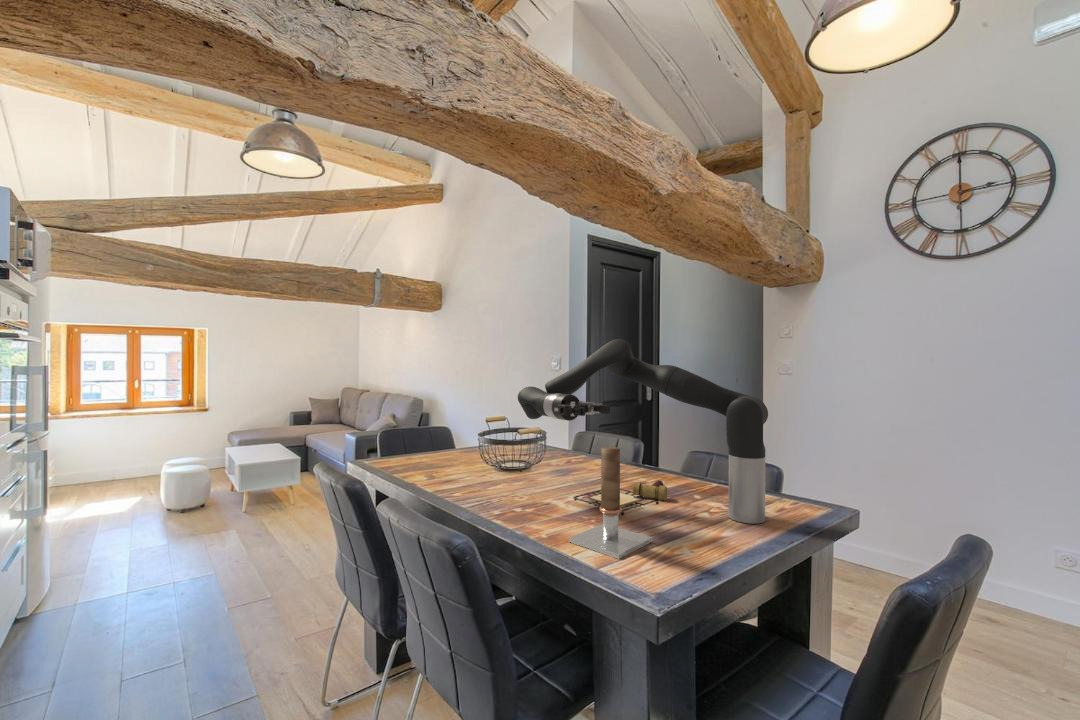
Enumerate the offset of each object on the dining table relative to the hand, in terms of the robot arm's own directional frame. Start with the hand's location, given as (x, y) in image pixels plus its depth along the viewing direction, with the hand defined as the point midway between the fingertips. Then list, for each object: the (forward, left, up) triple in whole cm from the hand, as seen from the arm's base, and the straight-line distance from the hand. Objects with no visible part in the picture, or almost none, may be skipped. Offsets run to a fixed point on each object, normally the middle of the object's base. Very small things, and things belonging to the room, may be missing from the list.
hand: (597, 410), depth 128 cm
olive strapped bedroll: (-38, -4, -30) cm, 49 cm away
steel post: (+9, +11, -30) cm, 33 cm away
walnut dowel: (+9, +11, -22) cm, 26 cm away
